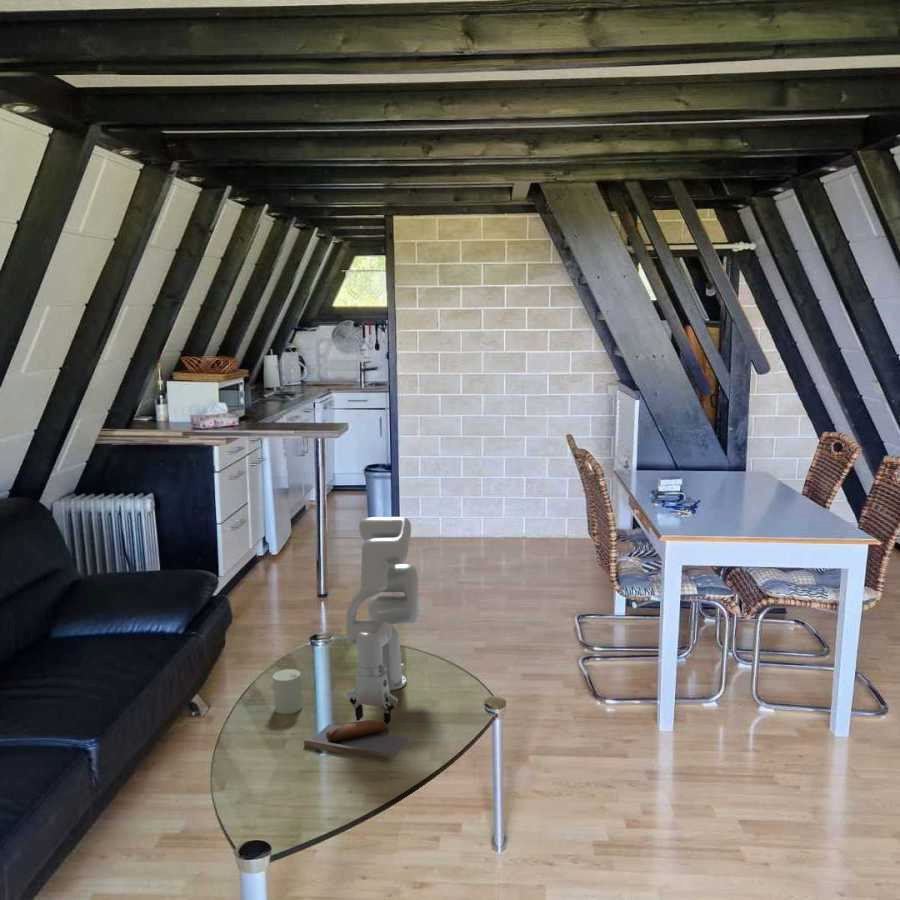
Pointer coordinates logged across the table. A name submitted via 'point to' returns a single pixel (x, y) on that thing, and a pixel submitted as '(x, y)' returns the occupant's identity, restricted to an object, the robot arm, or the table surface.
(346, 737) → the brown elongated rounded piece
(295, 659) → the table surface
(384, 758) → the walnut rail
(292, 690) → the can
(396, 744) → the mat
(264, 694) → the table surface
